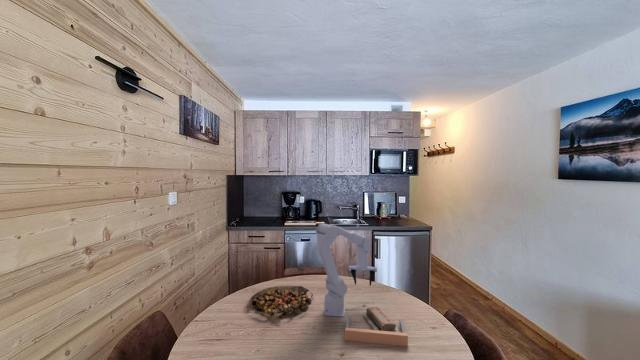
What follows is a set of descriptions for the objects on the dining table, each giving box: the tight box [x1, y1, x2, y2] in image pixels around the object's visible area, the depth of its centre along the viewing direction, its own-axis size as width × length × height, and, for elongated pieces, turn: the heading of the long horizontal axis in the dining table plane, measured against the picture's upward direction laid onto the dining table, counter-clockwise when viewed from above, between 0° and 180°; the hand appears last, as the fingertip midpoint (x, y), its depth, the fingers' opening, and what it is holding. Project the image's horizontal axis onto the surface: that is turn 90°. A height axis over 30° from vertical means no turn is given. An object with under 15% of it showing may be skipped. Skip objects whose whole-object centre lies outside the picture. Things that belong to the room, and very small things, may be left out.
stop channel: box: [344, 314, 409, 347], centre depth 115 cm, size 24×16×4 cm, turn 80°
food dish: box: [248, 285, 314, 321], centre depth 141 cm, size 35×33×8 cm
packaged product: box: [362, 306, 401, 333], centre depth 121 cm, size 18×5×10 cm
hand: (362, 284), depth 143 cm, fingers open, 7 cm apart
